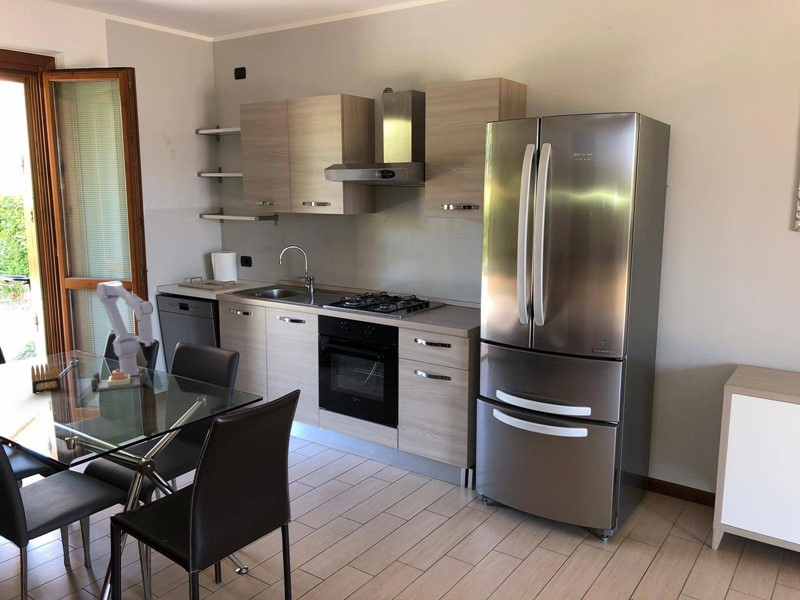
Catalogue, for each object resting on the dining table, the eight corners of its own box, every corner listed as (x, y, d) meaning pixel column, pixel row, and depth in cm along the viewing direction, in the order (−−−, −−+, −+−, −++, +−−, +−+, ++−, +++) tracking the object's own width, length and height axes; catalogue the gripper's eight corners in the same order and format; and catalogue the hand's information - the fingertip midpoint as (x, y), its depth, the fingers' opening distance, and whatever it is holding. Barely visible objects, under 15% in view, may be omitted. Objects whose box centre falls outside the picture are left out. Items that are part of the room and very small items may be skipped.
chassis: (95, 382, 295) (94, 371, 294) (145, 377, 302) (145, 366, 301) (92, 391, 282) (91, 380, 281) (145, 386, 289) (144, 374, 288)
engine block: (113, 381, 293) (112, 368, 292) (124, 380, 295) (123, 367, 294) (113, 384, 289) (111, 371, 288) (124, 383, 290) (122, 370, 289)
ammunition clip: (33, 393, 281) (30, 366, 279) (32, 392, 282) (29, 365, 280) (61, 388, 287) (58, 361, 285) (60, 387, 288) (57, 361, 286)
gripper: (134, 327, 300) (136, 356, 303) (136, 333, 288) (139, 363, 290) (150, 325, 304) (153, 354, 306) (154, 331, 291) (156, 361, 293)
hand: (147, 358), depth 298 cm, fingers open, 7 cm apart
